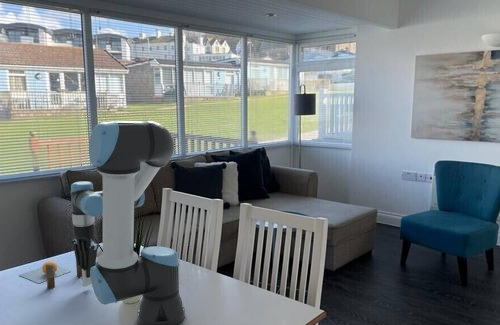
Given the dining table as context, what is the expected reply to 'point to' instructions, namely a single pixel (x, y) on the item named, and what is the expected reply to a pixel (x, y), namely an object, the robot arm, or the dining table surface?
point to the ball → (49, 263)
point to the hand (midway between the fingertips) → (87, 284)
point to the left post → (50, 276)
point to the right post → (78, 270)
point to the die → (99, 250)
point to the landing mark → (42, 274)
